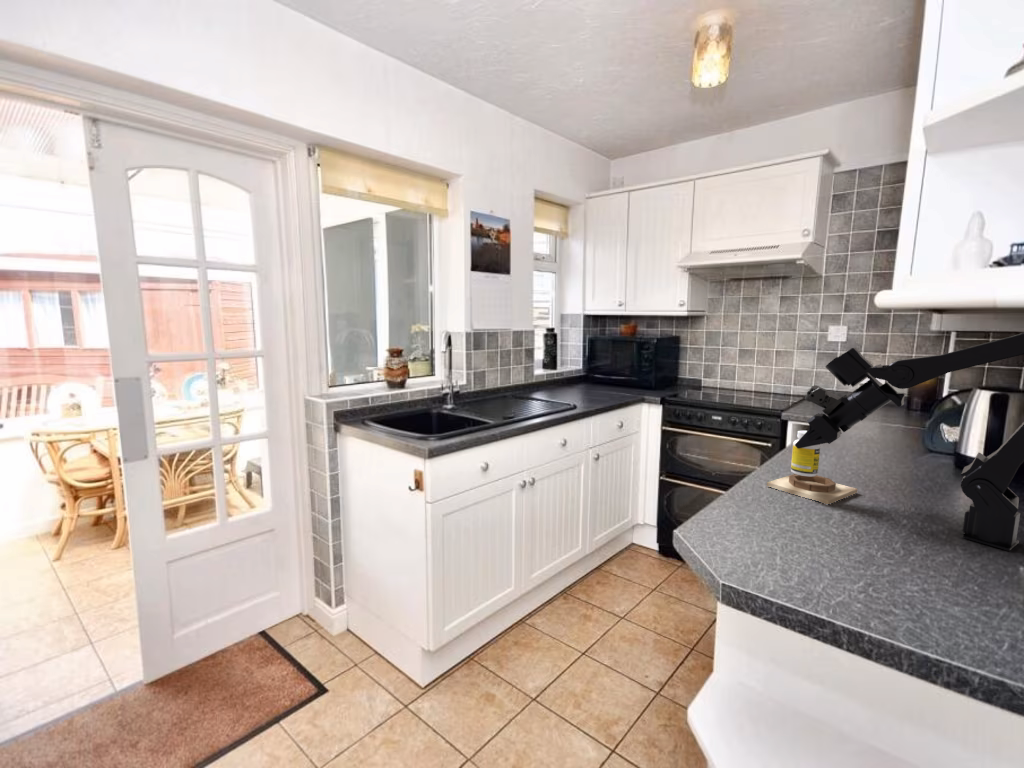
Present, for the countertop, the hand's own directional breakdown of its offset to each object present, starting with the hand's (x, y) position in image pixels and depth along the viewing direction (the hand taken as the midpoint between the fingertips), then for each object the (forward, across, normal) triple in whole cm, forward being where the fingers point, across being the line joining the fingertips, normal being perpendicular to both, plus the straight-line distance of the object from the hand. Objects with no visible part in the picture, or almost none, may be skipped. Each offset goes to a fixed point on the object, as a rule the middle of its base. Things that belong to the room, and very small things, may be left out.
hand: (799, 444), depth 113 cm
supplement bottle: (+4, 0, +6) cm, 7 cm away
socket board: (+8, -6, +10) cm, 14 cm away
